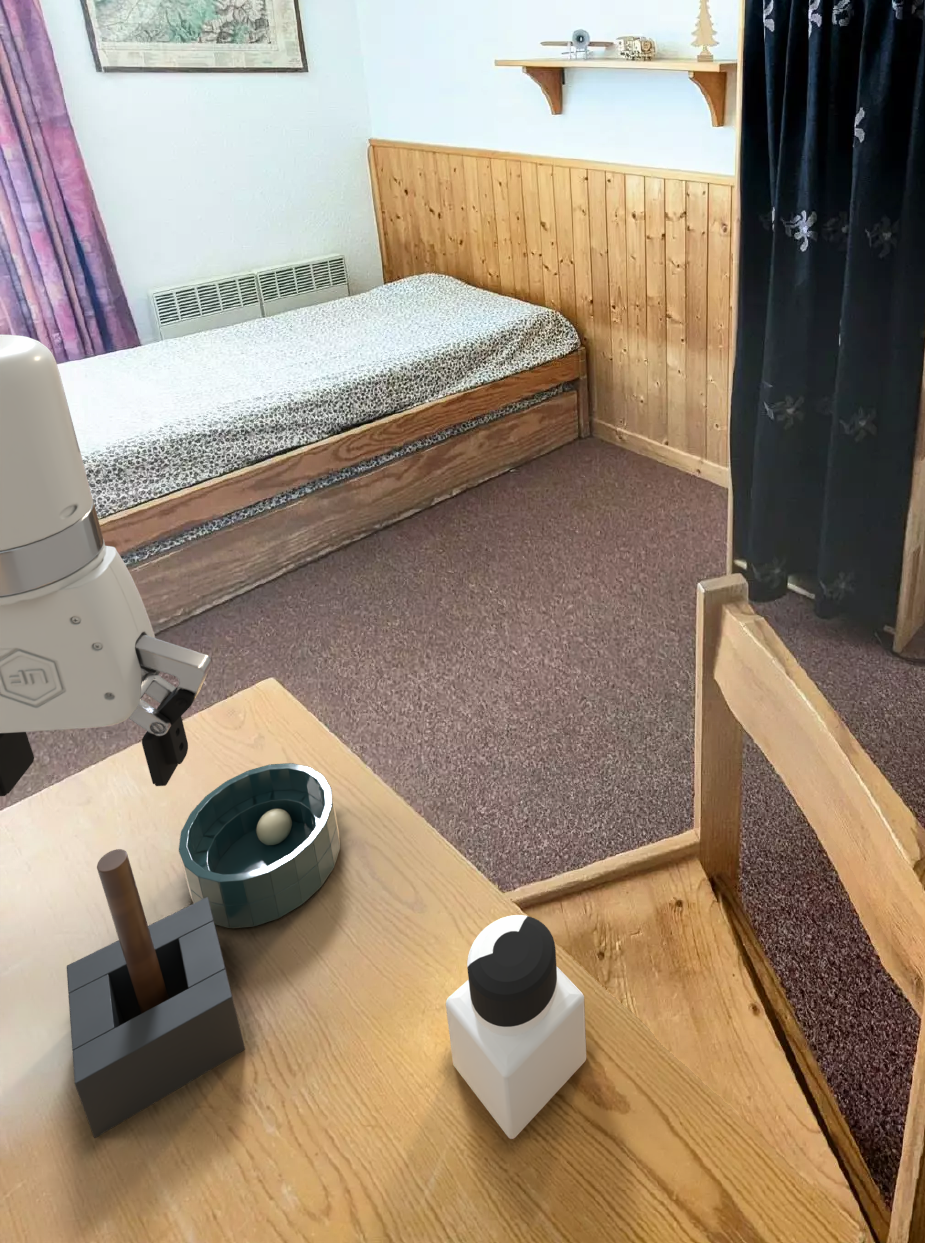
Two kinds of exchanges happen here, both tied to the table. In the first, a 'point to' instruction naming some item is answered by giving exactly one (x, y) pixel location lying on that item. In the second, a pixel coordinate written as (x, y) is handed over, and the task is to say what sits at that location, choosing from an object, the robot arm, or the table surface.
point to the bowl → (260, 844)
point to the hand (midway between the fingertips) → (93, 774)
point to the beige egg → (274, 826)
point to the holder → (150, 1020)
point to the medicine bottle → (516, 1021)
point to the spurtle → (132, 929)
